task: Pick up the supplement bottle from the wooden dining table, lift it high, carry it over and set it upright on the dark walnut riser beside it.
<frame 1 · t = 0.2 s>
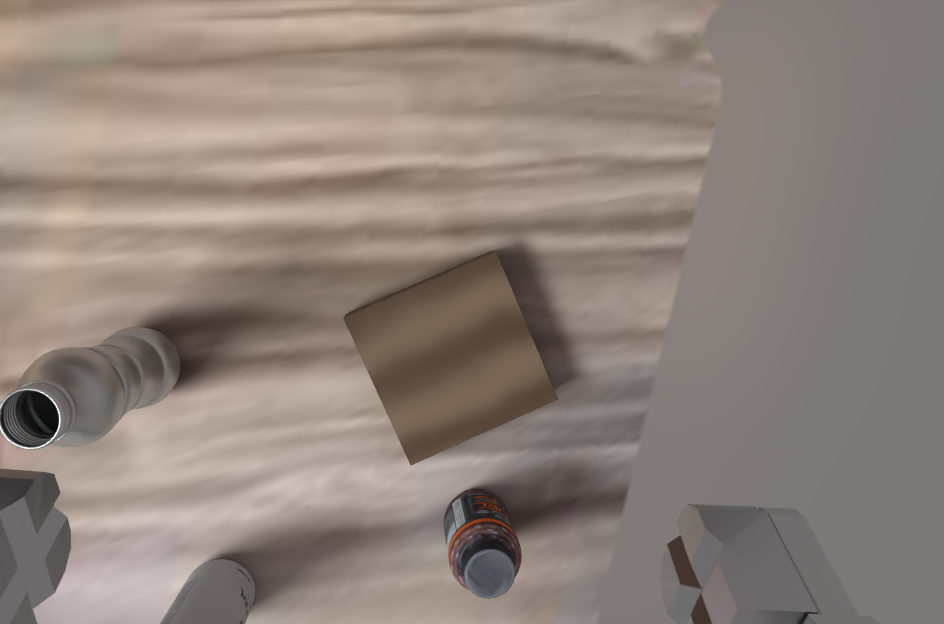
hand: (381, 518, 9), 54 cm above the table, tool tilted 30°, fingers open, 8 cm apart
supplement bottle: (474, 517, 66), on the table
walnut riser: (450, 353, 64), on the table
energy drink can: (223, 585, 64), on the table
plastic bottle: (149, 361, 61), on the table
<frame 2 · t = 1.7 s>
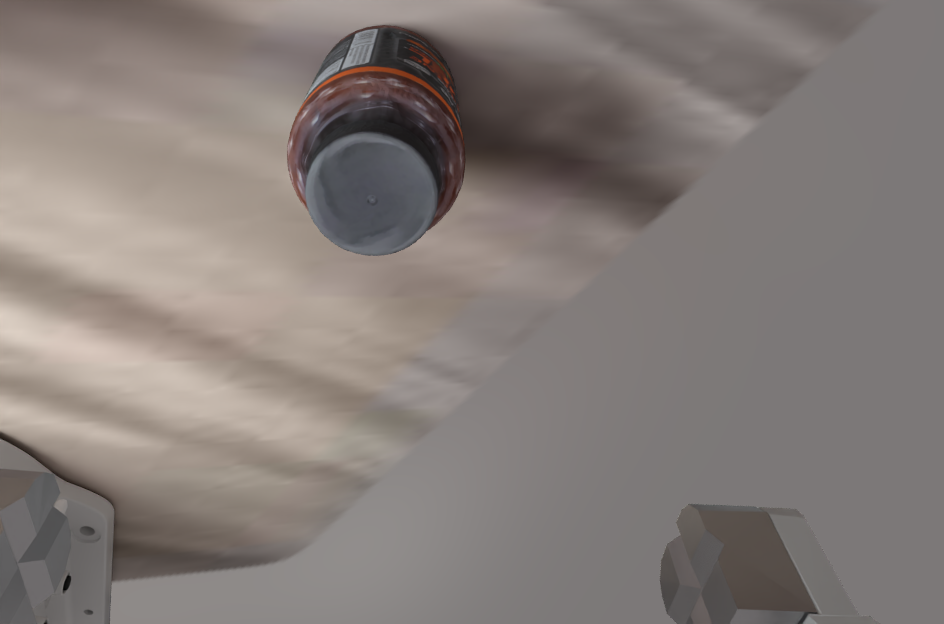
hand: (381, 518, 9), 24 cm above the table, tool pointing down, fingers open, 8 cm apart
supplement bottle: (387, 92, 31), on the table
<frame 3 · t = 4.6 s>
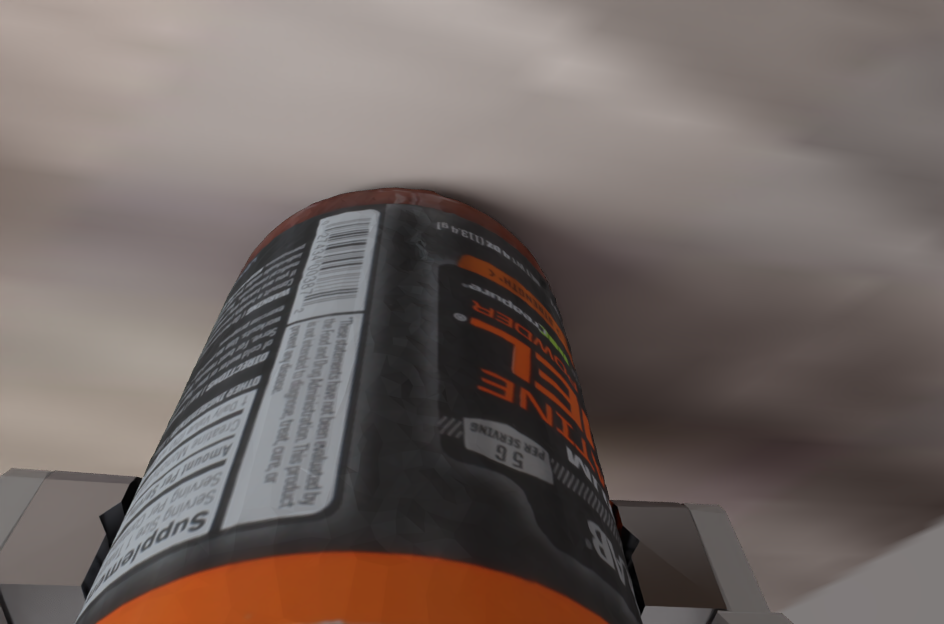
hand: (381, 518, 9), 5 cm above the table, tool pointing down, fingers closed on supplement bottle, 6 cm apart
supplement bottle: (398, 315, 13), on the table, touching gripper
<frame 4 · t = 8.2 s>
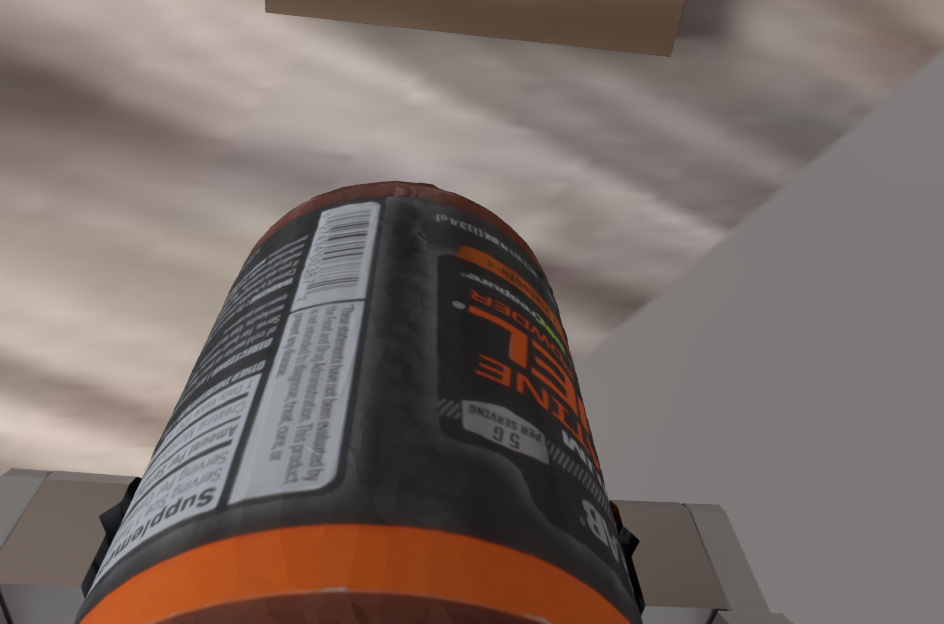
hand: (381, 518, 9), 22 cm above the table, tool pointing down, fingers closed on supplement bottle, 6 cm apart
supplement bottle: (398, 308, 14), point 17 cm above the table, touching gripper
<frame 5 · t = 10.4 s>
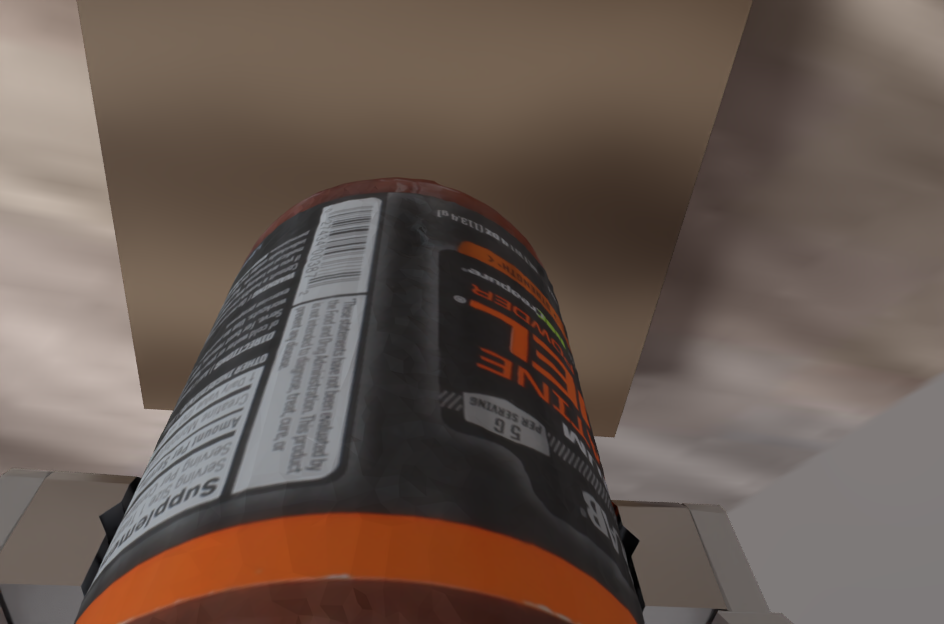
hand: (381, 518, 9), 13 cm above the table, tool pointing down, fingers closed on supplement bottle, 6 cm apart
supplement bottle: (398, 304, 14), point 7 cm above the table, touching gripper
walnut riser: (408, 164, 20), on the table
when the fingers open (9 cm above the table, at t = 12.0 s): supplement bottle stays where it is, resting on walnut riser.
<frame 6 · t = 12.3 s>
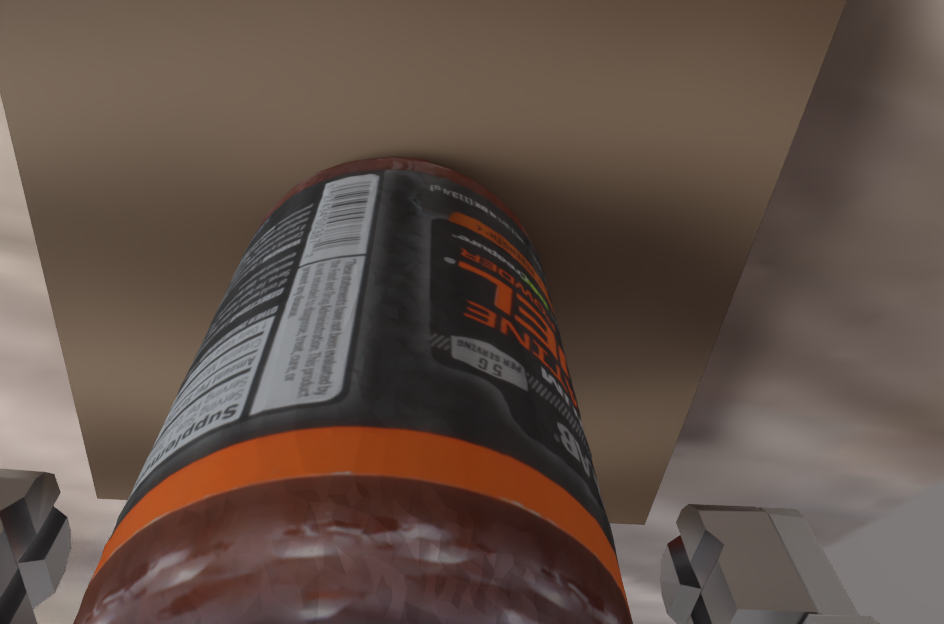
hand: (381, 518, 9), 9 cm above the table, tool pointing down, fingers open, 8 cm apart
supplement bottle: (396, 278, 15), point 3 cm above the table, touching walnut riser
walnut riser: (405, 215, 17), on the table
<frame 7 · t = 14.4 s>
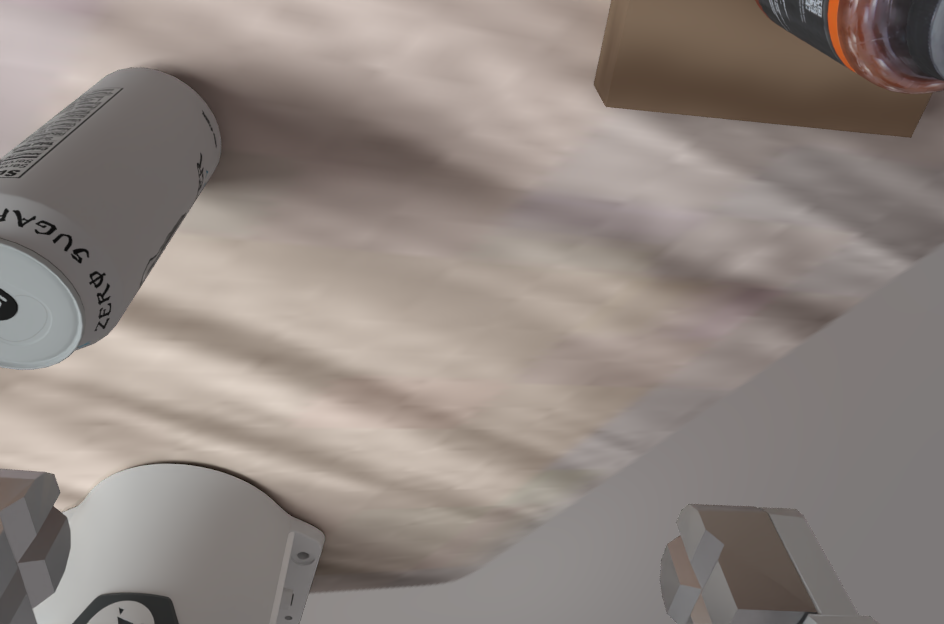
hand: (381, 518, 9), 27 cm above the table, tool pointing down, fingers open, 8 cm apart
energy drink can: (162, 124, 34), on the table
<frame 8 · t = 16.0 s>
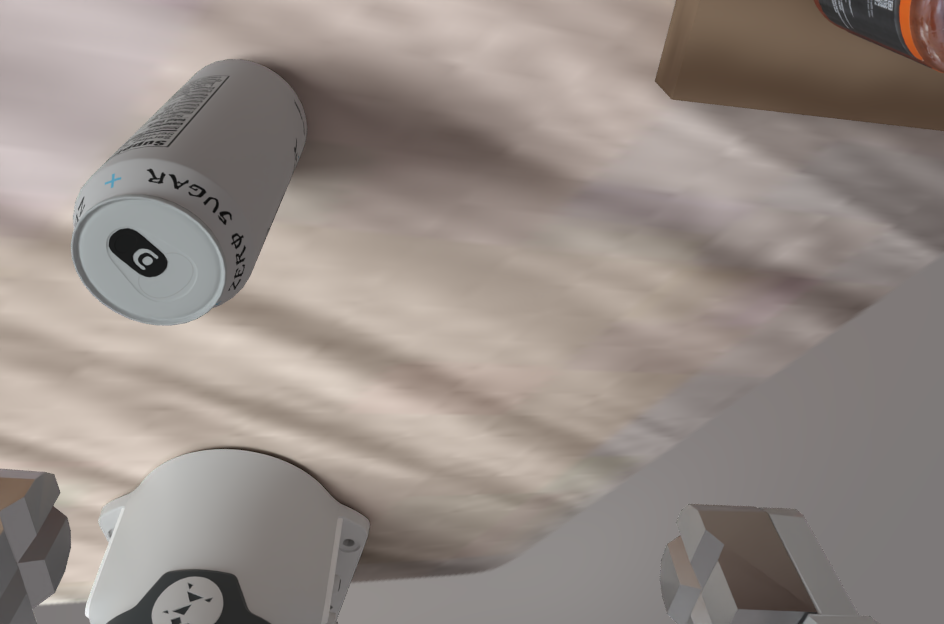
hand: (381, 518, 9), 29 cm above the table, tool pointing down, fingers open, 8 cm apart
energy drink can: (249, 114, 36), on the table
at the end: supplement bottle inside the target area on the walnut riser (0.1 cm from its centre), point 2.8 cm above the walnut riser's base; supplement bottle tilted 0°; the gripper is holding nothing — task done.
